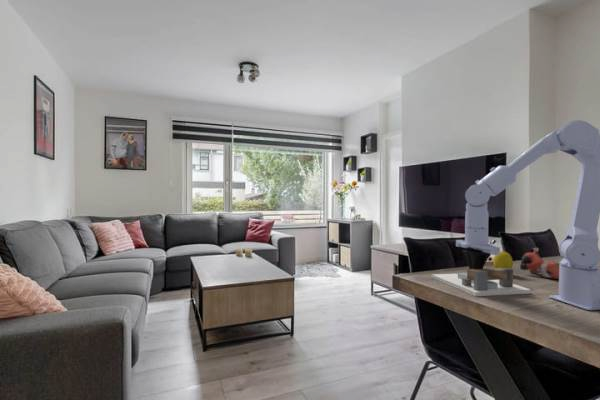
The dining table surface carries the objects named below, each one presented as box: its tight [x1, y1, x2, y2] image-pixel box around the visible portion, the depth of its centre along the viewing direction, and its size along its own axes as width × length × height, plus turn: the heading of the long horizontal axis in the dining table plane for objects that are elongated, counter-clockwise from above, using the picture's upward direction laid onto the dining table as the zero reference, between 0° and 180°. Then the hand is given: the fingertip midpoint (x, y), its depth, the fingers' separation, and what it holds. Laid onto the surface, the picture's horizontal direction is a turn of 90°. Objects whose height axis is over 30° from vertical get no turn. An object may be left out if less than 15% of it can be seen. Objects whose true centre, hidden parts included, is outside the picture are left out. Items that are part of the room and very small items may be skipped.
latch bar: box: [466, 267, 514, 287], centre depth 87 cm, size 13×3×4 cm, turn 102°
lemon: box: [492, 250, 514, 269], centre depth 106 cm, size 6×6×8 cm
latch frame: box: [431, 271, 532, 297], centre depth 92 cm, size 19×17×6 cm
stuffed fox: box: [519, 247, 559, 280], centre depth 104 cm, size 8×11×12 cm
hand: (475, 275), depth 89 cm, fingers closed
